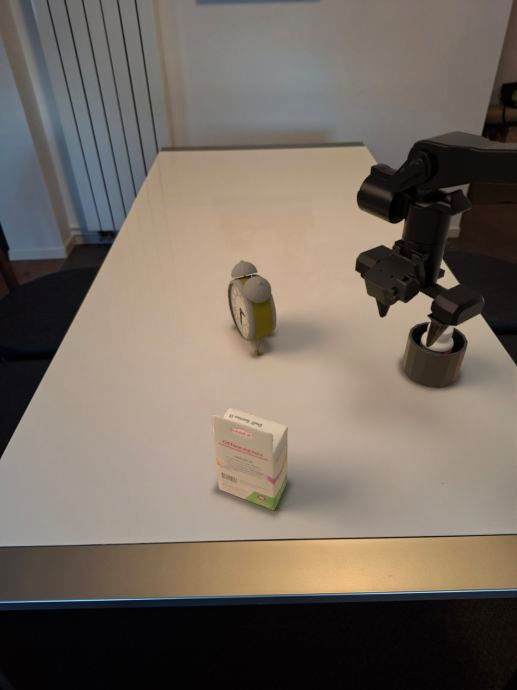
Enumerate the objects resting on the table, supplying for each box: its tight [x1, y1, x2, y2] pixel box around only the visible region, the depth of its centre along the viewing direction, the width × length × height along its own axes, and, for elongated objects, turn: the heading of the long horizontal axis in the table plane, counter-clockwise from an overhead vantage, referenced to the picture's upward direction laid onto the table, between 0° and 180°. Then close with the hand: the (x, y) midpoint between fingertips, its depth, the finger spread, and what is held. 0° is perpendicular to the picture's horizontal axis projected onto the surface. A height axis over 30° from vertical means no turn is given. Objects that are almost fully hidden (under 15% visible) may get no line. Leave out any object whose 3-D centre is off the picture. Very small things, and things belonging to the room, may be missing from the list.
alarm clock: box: [227, 259, 277, 355], centre depth 91 cm, size 12×7×15 cm, turn 23°
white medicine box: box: [212, 407, 289, 511], centre depth 64 cm, size 9×5×15 cm, turn 65°
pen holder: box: [401, 321, 469, 389], centre depth 85 cm, size 9×9×7 cm
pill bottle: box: [419, 321, 454, 354], centre depth 84 cm, size 5×5×9 cm
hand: (405, 330), depth 75 cm, fingers open, 9 cm apart
